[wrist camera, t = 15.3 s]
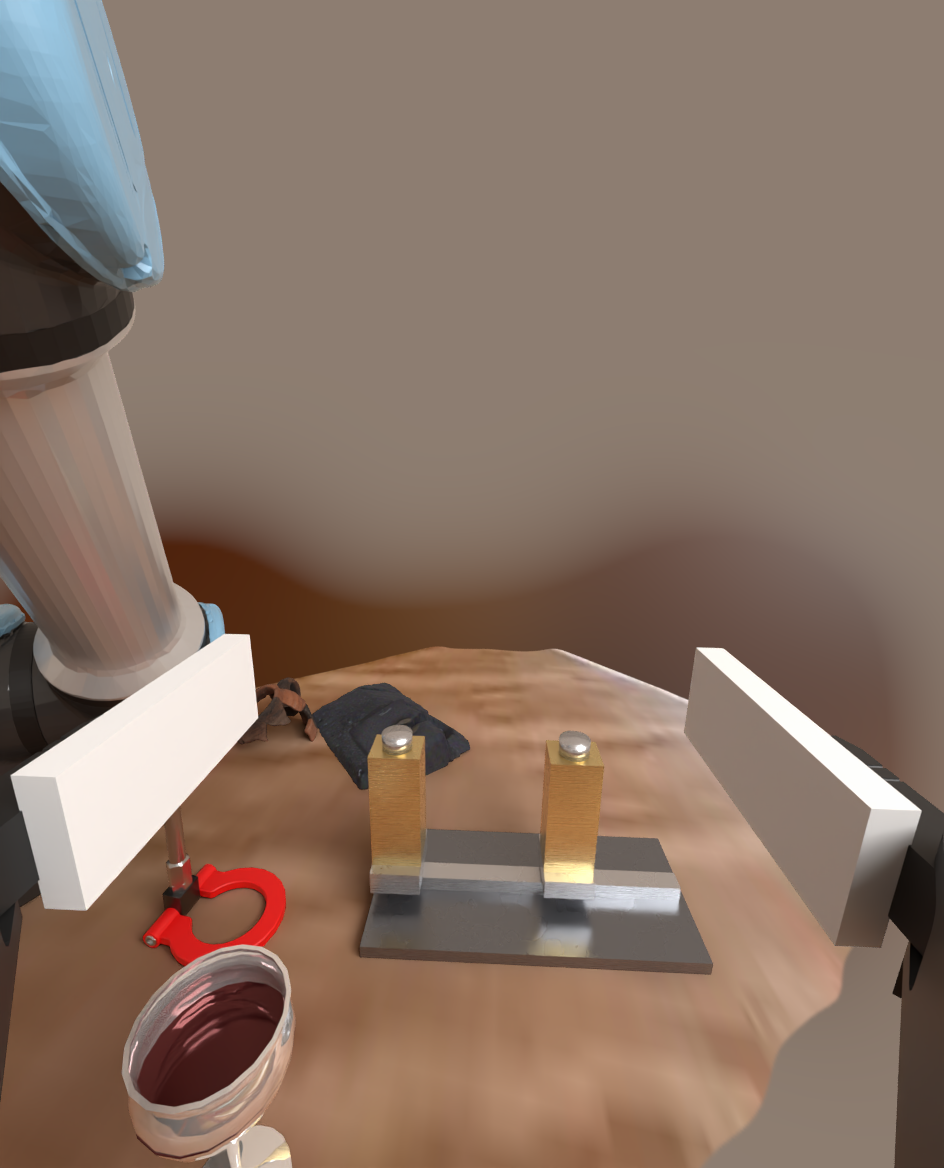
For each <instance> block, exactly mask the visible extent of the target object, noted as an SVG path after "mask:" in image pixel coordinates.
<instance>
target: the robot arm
mask: <svg viewBox="0 0 944 1168" xmlns="http://www.w3.org/2000/svg"><path fill="white" fill-rule="evenodd" d="M163 271H164V255H163V249H162V238H161V232H160V226H159V221H158V215H157V210H156V205H155V201H154V198H153V195H152V191H151V186H150V181H149V178H148V174H147V170H146V167H145V163H144V153H143V148H142V143H141V139H140V135H139V131H138V127H137V124H136V119H135V115H134V112H133V108H132V104H131V100H130V96H129V93H128V89H127V85H126V82H125V78H124V74H123V71H122V67H121V64H120V60H119V57H118V53H117V50H116V46H115V43H114V40H113V36H112V33H111V29H110V26H109V23H108V20H107V16H106V13H105V10H104V7H103V3H102V0H0V577H1V578H2V579H3V581H4V582H5V583H6V584H7V586H8V587H9V589H10V590H11V591H12V593H13V594H14V595H15V597H16V598H17V599H18V601H19V602H20V603H21V605H22V606H23V607H24V609H25V610H26V611H27V613H28V614H29V615H30V617H31V618H32V619H33V621H34V622H25V621H24V620H25V614H24V613H22V612H21V611H20V609H19V608H18V607H16V606H14V605H11V604H3V605H0V1100H1V1092H2V1084H3V1075H4V1067H5V1058H6V1050H7V1042H8V1033H9V1025H10V1016H11V1008H12V1000H13V991H14V983H15V974H16V966H17V958H18V949H19V941H20V933H21V924H22V913H21V910H20V906H22V905H24V904H25V903H27V902H29V901H30V900H32V899H33V898H35V897H36V896H38V895H39V894H41V895H42V899H43V903H44V907H45V909H66V910H87V909H88V908H89V907H90V906H91V905H92V904H93V903H94V901H95V900H96V899H97V898H98V897H99V896H100V895H101V894H102V892H103V891H104V890H105V889H106V888H107V887H108V886H109V885H110V883H111V882H112V881H113V880H114V879H115V878H116V877H117V876H118V875H119V873H120V872H121V871H122V870H123V869H124V868H125V867H126V866H127V864H128V863H129V862H130V861H131V860H132V859H133V858H134V857H135V855H136V854H137V853H138V852H139V851H140V850H141V849H142V848H143V847H144V845H145V844H146V843H147V842H148V841H149V840H150V839H151V838H152V836H153V835H154V834H155V833H156V832H157V831H158V830H159V829H160V827H161V826H162V825H163V824H164V823H165V822H166V821H167V820H168V818H169V817H170V816H171V815H172V814H173V813H174V812H175V811H176V810H177V808H178V807H179V806H180V805H181V804H182V803H183V802H184V801H185V799H186V798H187V797H188V796H189V795H190V794H191V793H192V792H193V790H194V789H195V788H196V787H197V786H198V785H199V784H200V783H201V781H202V780H203V779H204V778H205V777H206V776H207V775H208V774H209V773H210V771H211V770H212V769H213V768H214V767H215V766H216V765H217V764H218V762H219V761H220V760H221V759H222V758H223V757H224V756H225V755H226V753H227V752H228V751H229V750H230V749H231V748H232V747H233V746H234V744H235V743H236V742H237V741H238V740H239V739H240V738H241V737H242V736H243V734H244V733H245V732H246V731H247V730H248V729H249V728H250V727H251V725H252V724H253V723H254V722H255V721H256V720H257V719H258V711H257V701H256V692H255V682H254V673H253V664H252V655H251V645H250V636H249V635H240V634H225V631H224V622H223V616H222V613H221V611H220V609H219V607H217V606H216V605H214V604H205V603H201V602H199V603H197V601H196V600H195V599H194V597H193V596H192V595H190V594H189V593H188V592H187V591H186V590H184V589H183V588H181V587H180V586H178V585H176V584H175V583H173V580H172V577H171V574H170V570H169V566H168V563H167V559H166V556H165V552H164V549H163V545H162V542H161V538H160V534H159V531H158V527H157V524H156V520H155V517H154V513H153V510H152V506H151V503H150V499H149V496H148V493H147V488H146V485H145V481H144V478H143V474H142V471H141V467H140V464H139V460H138V457H137V453H136V450H135V446H134V442H133V439H132V435H131V432H130V428H129V425H128V421H127V418H126V414H125V411H124V407H123V404H122V400H121V396H120V393H119V389H118V386H117V382H116V379H115V376H114V372H113V368H112V365H111V361H110V358H109V354H108V351H109V350H110V349H111V348H113V347H114V346H115V345H117V344H118V343H119V342H120V341H121V340H122V339H123V338H124V337H125V336H126V335H127V334H128V332H129V330H130V329H131V327H132V325H133V322H134V318H135V303H134V298H133V294H132V292H135V291H138V290H140V289H142V288H144V287H152V286H154V285H156V284H158V283H159V282H160V281H161V279H162V277H163ZM684 733H685V734H686V736H687V737H688V739H689V740H690V742H691V743H692V744H693V746H694V747H695V749H696V750H697V751H698V753H699V754H700V756H701V757H702V758H703V760H704V761H705V763H706V764H707V766H708V767H709V768H710V770H711V771H712V773H713V774H714V775H715V777H716V778H717V780H718V781H719V783H720V784H721V785H722V787H723V788H724V790H725V791H726V792H727V794H728V795H729V797H730V798H731V799H732V801H733V802H734V804H735V805H736V807H737V808H738V809H739V811H740V812H741V814H742V815H743V816H744V818H745V819H746V821H747V822H748V824H749V825H750V826H751V828H752V829H753V831H754V832H755V833H756V835H757V836H758V838H759V839H760V840H761V842H762V843H763V845H764V846H765V848H766V849H767V850H768V852H769V853H770V855H771V856H772V857H773V859H774V860H775V862H776V863H777V865H778V866H779V867H780V869H781V870H782V872H783V873H784V874H785V876H786V877H787V879H788V880H789V881H790V883H791V884H792V886H793V887H794V889H795V890H796V891H797V893H798V894H799V896H800V897H801V898H802V900H803V901H804V903H805V904H806V905H807V907H808V908H809V910H810V911H811V913H812V914H813V915H814V917H815V918H816V920H817V921H818V922H819V924H820V925H821V927H822V928H823V930H824V931H825V932H826V934H827V935H828V937H829V938H830V939H831V941H832V942H833V944H834V945H835V946H851V947H872V948H881V946H882V943H883V939H884V936H885V933H886V929H887V926H888V922H889V919H891V920H892V922H893V923H894V924H895V925H896V926H897V927H898V928H899V930H900V931H901V932H902V933H903V934H904V935H905V936H906V938H907V939H908V940H909V942H908V945H907V949H906V952H905V955H904V958H903V961H902V965H901V968H900V971H899V974H898V977H897V980H896V984H895V987H894V990H893V994H894V995H896V996H898V997H900V998H902V1004H901V1005H902V1006H901V1028H900V1030H901V1031H900V1050H899V1074H898V1097H897V1098H898V1099H897V1120H896V1121H897V1122H896V1144H895V1167H894V1168H944V813H943V812H941V811H940V810H938V808H936V807H935V806H934V805H932V804H931V803H930V802H929V801H927V800H926V799H925V798H924V797H922V796H921V795H920V794H918V793H917V792H916V791H915V790H913V789H912V788H911V787H909V786H908V785H907V784H906V783H904V782H900V781H899V778H898V777H897V776H895V775H894V774H893V773H892V772H890V771H889V770H888V769H886V768H882V765H881V764H880V763H879V762H878V761H876V760H875V759H874V758H872V757H871V756H870V755H869V754H867V753H866V752H865V751H863V750H862V749H860V748H858V747H856V746H855V745H853V744H851V743H849V742H847V741H845V740H843V739H841V738H839V737H837V736H830V735H828V734H827V733H826V732H825V731H824V730H822V729H821V728H820V727H819V726H817V725H816V724H815V723H814V722H812V721H811V720H810V719H809V718H808V717H806V716H805V715H804V714H803V713H801V712H800V711H799V710H798V709H797V708H795V707H794V706H793V705H792V704H791V703H789V702H788V701H787V700H786V699H784V698H783V697H782V696H781V695H779V694H778V693H777V692H776V691H775V690H773V689H772V688H771V687H770V686H768V685H767V684H766V683H765V682H764V681H762V680H761V679H760V678H759V677H757V676H756V675H755V674H754V673H753V672H751V671H750V670H749V669H748V668H746V667H745V666H744V665H743V664H741V663H740V662H739V661H738V660H737V659H735V658H734V657H733V656H732V655H730V654H729V653H728V652H727V651H726V650H724V649H723V648H696V653H695V660H694V667H693V674H692V680H691V688H690V694H689V701H688V708H687V715H686V722H685V729H684Z"/></svg>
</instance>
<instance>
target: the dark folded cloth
mask: <svg viewBox="0 0 944 1168" xmlns="http://www.w3.org/2000/svg"><path fill="white" fill-rule="evenodd" d="M312 716H313V718H314V721H315V723H316V725H317V728H319V730H320V733H321V735H322V737H324V739H325V741H326V743H327V745H328V747H330V749H331V751H332V752H333V753H335V756H336V757H337V758H338V760H339V762H340V763H341V764H342V765H343V767H344V768H345V769H346V771H347V772H348V774H349V775H350V776H351V778H352V780H353V782H354V783H355V784H356V785H357V786H358V788H359V789H368V787H369V781H368V755H369V753H370V750H371V748H372V745H373V743H374V740H375V738H376V736H377V734H379V735H382V731H383V730H384V729H385V728H387V727H390V726H393V725H404V726H407V727H409V728H411V730H412V736H425V775H428V774H430V773H432V772H434V771H436V770H439V769H441V768H443V767H445V766H447V765H448V763H449V762H451V761H453V759H455V758H457V757H459V756H460V754H461V753H464V752H466V751H467V750H469V749H470V745H469V742H468V740H466V739H465V738H464V736H463V735H461V734H460V733H458V732H457V731H456V730H454V729H453V728H451V727H449V726H447V725H446V724H444V723H443V722H441V721H440V720H438V719H436V718H434V717H432V716H431V715H429V714H428V711H427V710H425V709H423V707H422V706H420V705H419V704H417V703H415V702H414V701H412V700H411V699H410V698H408V697H406V696H404V695H403V694H402V693H401V692H400V691H399V690H397V689H396V688H395V687H393V686H391V685H390V684H387V683H380V684H373V685H365V686H361V687H358V688H356V689H354V690H353V691H351V692H348V693H347V694H345V695H343V696H341V697H340V698H339V699H337V700H335V701H333V702H331V703H329V704H327V705H325V706H322V707H321V708H320V709H319V710H317V711H316V712H315V713H313V714H312Z"/></svg>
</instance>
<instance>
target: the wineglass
mask: <svg viewBox="0 0 944 1168" xmlns="http://www.w3.org/2000/svg"><path fill="white" fill-rule="evenodd" d="M290 994H291V986H290V981H289V976H288V971H287V969H286V967H285V966H284V964H283V963H282V961H281V960H280V959H279V957H278V956H277V955H276V954H274V953H272V952H270V951H268V950H267V949H265V948H263V947H260V946H252V945H243V944H242V945H236V946H231V947H225V948H220V949H218V950H215V951H213V952H211V953H208V954H206V955H204V956H201V957H199V958H197V959H195V960H194V961H192V962H191V963H190V964H188V965H187V966H185V967H184V968H182V969H181V970H179V971H178V972H176V973H175V974H174V975H173V976H172V977H171V978H170V979H169V980H168V981H166V982H165V983H164V984H163V985H162V986H161V987H160V988H159V989H158V990H157V991H156V992H155V993H154V994H153V995H152V997H151V998H150V1000H149V1001H148V1003H147V1004H146V1005H145V1007H144V1008H143V1010H142V1011H141V1013H140V1014H139V1016H138V1017H137V1018H136V1020H135V1022H134V1025H133V1027H132V1030H131V1032H130V1034H129V1037H128V1039H127V1042H126V1044H125V1047H124V1055H123V1065H122V1076H123V1079H124V1082H125V1085H126V1088H127V1091H128V1094H129V1101H128V1111H129V1114H130V1117H131V1120H132V1123H133V1126H134V1130H135V1132H136V1136H137V1139H138V1140H140V1141H141V1142H142V1143H143V1144H144V1145H145V1146H146V1147H147V1148H149V1149H150V1150H151V1151H152V1152H153V1153H154V1154H155V1155H157V1156H158V1157H161V1158H165V1159H169V1160H175V1161H181V1162H186V1163H188V1162H192V1161H196V1160H200V1159H204V1158H208V1157H210V1158H209V1159H208V1161H207V1162H206V1164H205V1165H204V1167H203V1168H292V1163H291V1156H290V1149H289V1147H288V1145H287V1143H286V1141H285V1139H284V1137H283V1135H281V1134H280V1133H279V1132H277V1131H276V1130H275V1129H273V1128H272V1127H266V1126H260V1125H257V1126H254V1125H255V1124H256V1123H257V1122H258V1121H259V1120H260V1119H261V1117H262V1116H263V1114H264V1113H265V1111H266V1110H267V1108H268V1107H269V1105H270V1104H271V1102H272V1101H273V1099H274V1097H275V1096H276V1094H277V1092H278V1090H279V1088H280V1086H281V1083H282V1080H283V1078H284V1075H285V1073H286V1070H287V1068H288V1065H289V1063H290V1060H291V1056H292V1049H293V1041H294V1033H295V1023H296V1019H295V1014H294V1008H293V1003H292V999H291V997H290Z"/></svg>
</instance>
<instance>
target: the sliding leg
mask: <svg viewBox="0 0 944 1168" xmlns="http://www.w3.org/2000/svg"><path fill="white" fill-rule="evenodd" d="M603 773H604V764H603V762H602V759H601V756H600V754H599V751H598V748H597V745H596V743H595V742H591V740H590V738H589V737H588V736H587V735H586V734H584V733H581V732H578V731H566V732H563V733H562V734H561V735H560V737H559V741H550V740H546V751H545V767H544V783H543V799H542V815H541V831H540V834H539V839H538V854H539V862H540V870H541V878H542V886H543V894H544V898H560V899H583V900H594V898H595V888H596V882H595V878H594V864H595V854H596V844H597V834H598V824H599V814H600V804H601V793H602V783H603Z"/></svg>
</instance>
